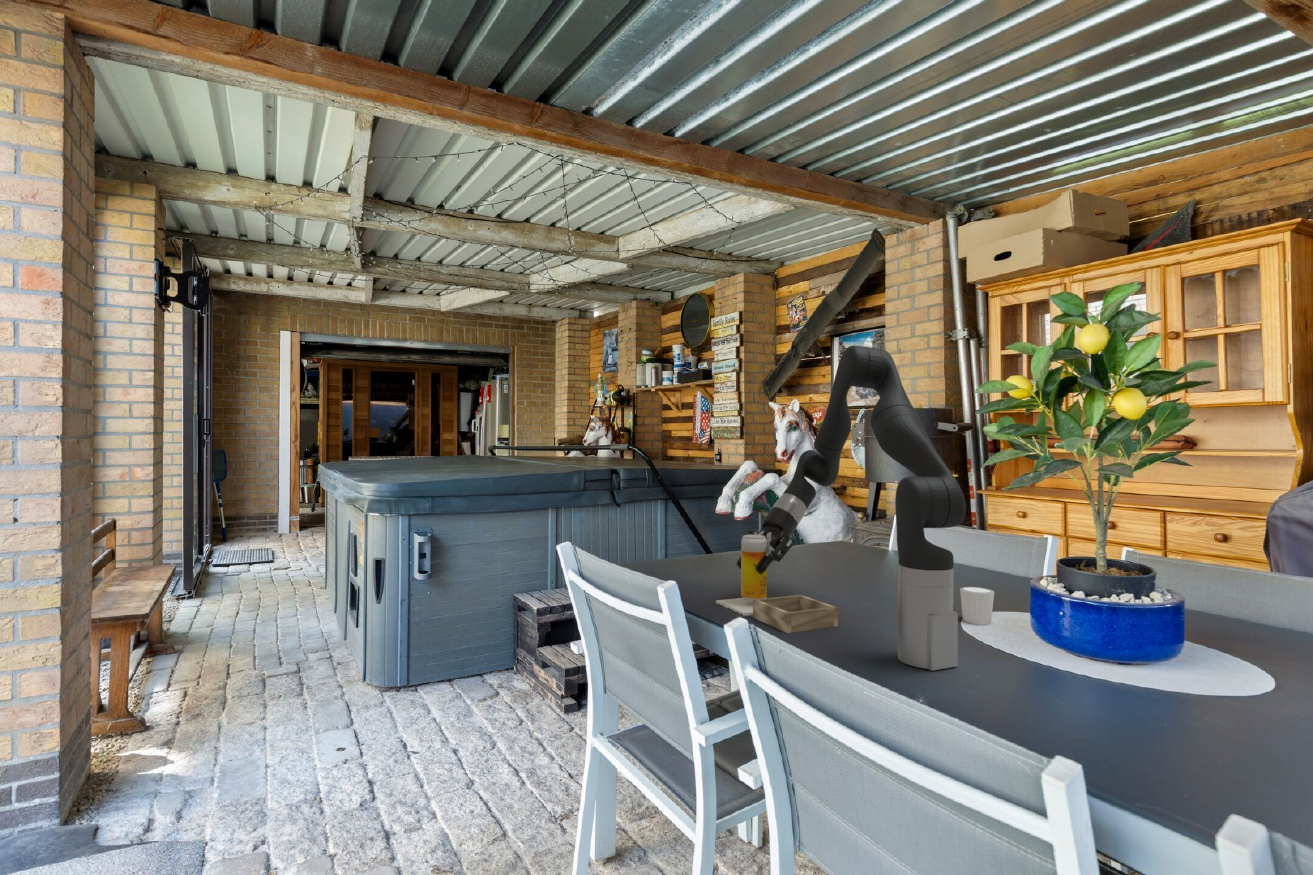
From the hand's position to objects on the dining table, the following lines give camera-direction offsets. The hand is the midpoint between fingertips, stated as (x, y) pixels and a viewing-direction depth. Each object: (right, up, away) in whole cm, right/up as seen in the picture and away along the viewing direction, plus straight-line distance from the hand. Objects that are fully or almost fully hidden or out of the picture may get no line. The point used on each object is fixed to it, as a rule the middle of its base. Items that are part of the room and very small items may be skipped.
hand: (748, 569), depth 160 cm
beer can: (+1, -8, +1) cm, 8 cm away
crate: (+8, -9, -12) cm, 17 cm away
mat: (+1, -9, +1) cm, 9 cm away
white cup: (+49, -10, -10) cm, 51 cm away
